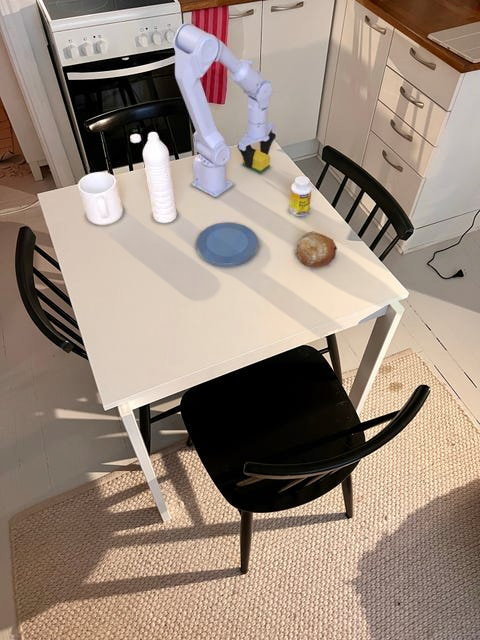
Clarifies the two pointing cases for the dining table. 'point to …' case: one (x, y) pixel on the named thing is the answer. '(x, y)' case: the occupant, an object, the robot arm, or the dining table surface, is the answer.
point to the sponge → (260, 162)
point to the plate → (227, 244)
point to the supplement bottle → (300, 196)
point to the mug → (100, 198)
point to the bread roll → (316, 250)
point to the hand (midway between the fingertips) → (256, 161)
